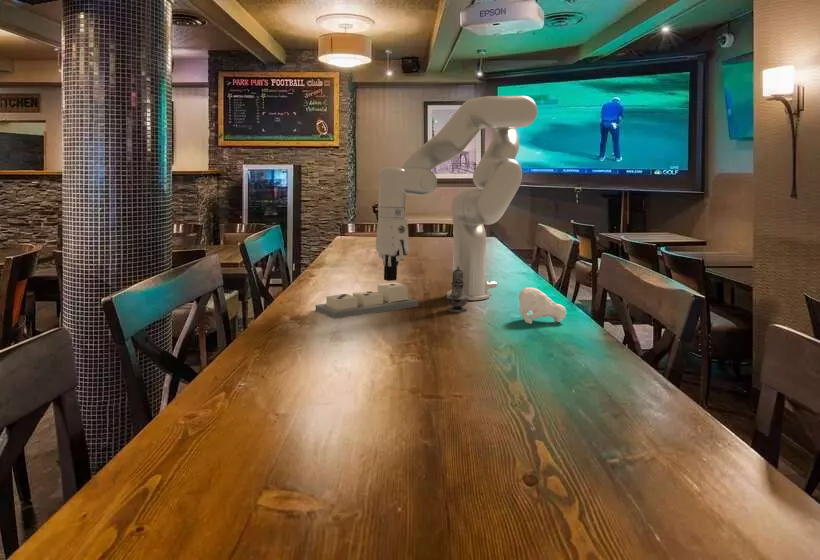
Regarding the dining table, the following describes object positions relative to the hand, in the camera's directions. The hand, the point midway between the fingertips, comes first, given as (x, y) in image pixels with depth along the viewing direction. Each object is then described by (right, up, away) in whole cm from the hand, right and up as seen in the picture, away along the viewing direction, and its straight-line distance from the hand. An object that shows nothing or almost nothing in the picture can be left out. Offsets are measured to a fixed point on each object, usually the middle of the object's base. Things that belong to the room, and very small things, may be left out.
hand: (390, 280), depth 171 cm
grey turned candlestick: (+18, -8, -4) cm, 20 cm away
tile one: (+1, -5, +1) cm, 6 cm away
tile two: (-6, -8, -3) cm, 10 cm away
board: (-6, -8, -3) cm, 10 cm away
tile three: (-13, -8, -7) cm, 17 cm away
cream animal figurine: (+38, -11, -16) cm, 43 cm away
